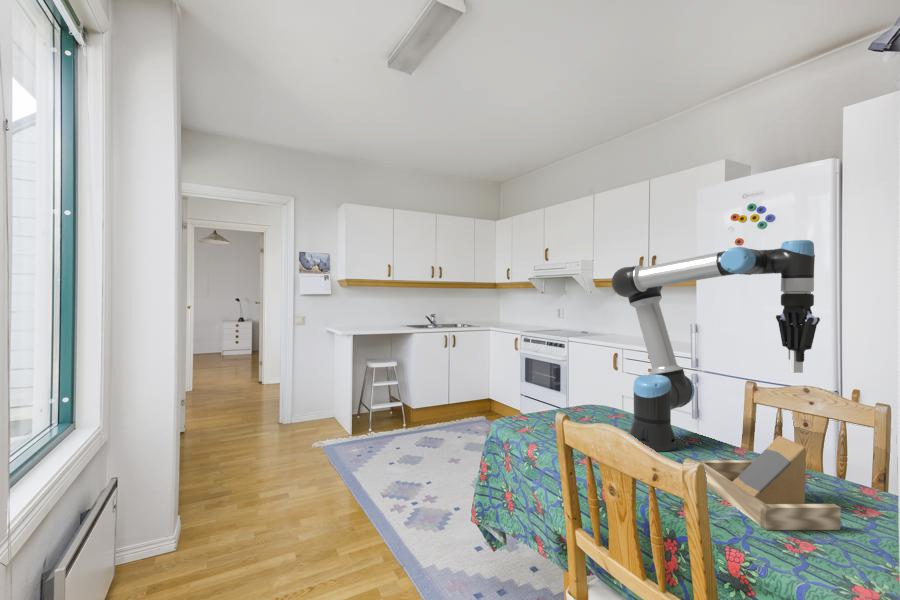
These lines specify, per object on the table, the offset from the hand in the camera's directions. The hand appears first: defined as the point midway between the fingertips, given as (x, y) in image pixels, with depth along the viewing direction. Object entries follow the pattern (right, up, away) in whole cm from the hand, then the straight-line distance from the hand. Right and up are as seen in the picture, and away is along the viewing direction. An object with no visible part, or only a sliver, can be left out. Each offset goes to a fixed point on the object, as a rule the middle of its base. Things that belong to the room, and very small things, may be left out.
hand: (796, 372), depth 123 cm
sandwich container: (-22, -30, -16) cm, 41 cm away
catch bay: (-24, -30, -18) cm, 42 cm away
